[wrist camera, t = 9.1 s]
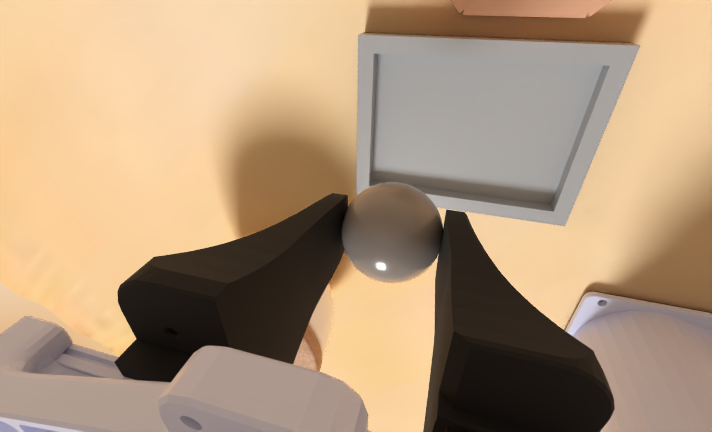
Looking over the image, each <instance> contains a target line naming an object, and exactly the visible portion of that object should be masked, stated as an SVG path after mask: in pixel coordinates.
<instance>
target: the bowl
mask: <svg viewBox="0 0 712 432" xmlns="http://www.w3.org/2000/svg"><path fill="white" fill-rule="evenodd" d="M450 1H451V2H452V3H453V5H454V6H455V8H456V9H457V10H458V12H459V13H461V12H462V11H463V10H464V12H463V15H482V16H522V17H562V18H586V16H592V15H593V14H594V13H596V12H597V11H598V10H600V9H601V8H602V7H604V6H605V5H606V4H608V3H609V2H610V1H612V0H450Z"/></svg>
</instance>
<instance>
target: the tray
mask: <svg viewBox="0 0 712 432" xmlns="http://www.w3.org/2000/svg"><path fill="white" fill-rule="evenodd" d="M639 47H640V46H639V45H636V44H632V43H626V42H599V41H573V40H547V39H521V38H495V37H469V36H442V35H416V34H390V33H362V34H359V35H358V101H357V176H356V195H358V194H360V193H361V192H362V191H363V190H365V189H367V188H369V187H371V186H373V185H376V184H379V183H384V182H400V183H405V184H408V185H411V186H413V187H415V188H417V189H419V190H420V191H422V192H423V193H424V194H426V195H427V196H428V197H429V198H430V199H431V201H432V202H433V203H434V205H435V206H436V207H438V208H445V209H452V210H459V211H465V212H472V213H479V214H486V215H493V216H499V217H506V218H513V219H520V220H526V221H533V222H540V223H547V224H554V225H560V226H565V225H566V222H567V220H568V217H569V215H570V213H571V210H572V208H573V205H574V203H575V201H576V198H577V196H578V193H579V191H580V189H581V186H582V184H583V181H584V179H585V177H586V174H587V172H588V169H589V167H590V165H591V162H592V160H593V157H594V155H595V153H596V150H597V148H598V146H599V143H600V141H601V138H602V136H603V134H604V131H605V129H606V126H607V124H608V122H609V119H610V117H611V114H612V112H613V110H614V107H615V105H616V102H617V100H618V98H619V95H620V93H621V90H622V88H623V86H624V83H625V81H626V78H627V76H628V74H629V71H630V69H631V66H632V64H633V62H634V59H635V57H636V54H637V52H638V50H639Z"/></svg>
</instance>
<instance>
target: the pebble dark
mask: <svg viewBox="0 0 712 432" xmlns="http://www.w3.org/2000/svg"><path fill="white" fill-rule="evenodd" d="M341 236H342V243H343V247H344V250H345V252H346V255H347V256H348V258H349V260H350V261H351V263H352V264H353V265H354V266H355V267H356V268H357V269H358V270H359V271H360V272H361V273H363V274H364V275H365V276H367V277H369V278H371V279H373V280H376V281H379V282H384V283H401V282H405V281H409V280H411V279H413V278H416V277H418V276H419V275H421V274H422V273H423V272H425V271H426V270H427V269H428V268H429V267H430V266H431V265H432V264H433V262H434V261H435V259H436V258H437V256H438V253H439V251H440V248H441V243H442V236H443V225H442V220H441V217H440V214H439V212H438V210H437V208H436V206H435V205H434V203H433V202H432V201H431V199H430V198H429V197H428V196H427V195H426V194H424V193H423V192H422V191H420V190H419V189H417V188H415V187H413V186H411V185H408V184H405V183H400V182H384V183H379V184H376V185H373V186H371V187H369V188H367V189H365V190H363V191H362V192H361V193H360V194H358V195H357V196H356V197H355V198H354V199H353V201H352V202H351V203H350V205H349V206H348V208H347V210H346V212H345V215H344V217H343V221H342V227H341Z"/></svg>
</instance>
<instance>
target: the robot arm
mask: <svg viewBox="0 0 712 432" xmlns="http://www.w3.org/2000/svg"><path fill="white" fill-rule="evenodd" d="M347 208H348V195H341V194H334V193H332V194H330V195H328V196H326V197H324V198H323V199H321V200H319V201H318V202H316V203H314V204H313V205H311V206H309V207H307V208H306V209H304V210H302V211H301V212H299V213H297V214H295V215H293V216H291V217H289V218H288V219H286V220H284V221H282V222H280V223H278V224H276V225H274V226H272V227H269V228H267V229H265V230H262V231H260V232H257V233H255V234H252V235H249V236H247V237H243V238H240V239H237V240H234V241H231V242H228V243H224V244H221V245H217V246H213V247H209V248H204V249H200V250H195V251H190V252H184V253H178V254H171V255H165V256H158V257H153V258H152V259H151V260H150V261H149V262H148V263H146V264H145V265H144V266H143V267H142V268H140V269H139V270H138V271H137V272H136V273H134V274H133V275H132V276H131V277H130V278H128V279H127V280H126V281H125V282H124V283H122V284H121V285H120V287H119V289H118V303H119V305H120V308H121V310H122V312H123V314H124V316H125V318H126V320H127V322H128V324H129V325H130V327H131V329H132V331H133V333H134V335H135V337H136V340H135V341H134V342H133V343H132V344H131V345H130V346H129V347H128V349H127V350H126V351H125V352H124V353H123V354H122V355H121V356H120V357H116V356H113V355H109V354H106V353H103V352H99V351H96V350H93V349H89V348H86V347H83V346H79V345H76V344H72V340H71V338H70V336H69V335H68V333H67V332H66V331H65V330H64V329H63V328H62V327H60V326H59V325H57V324H55V323H52V322H49V321H45V320H42V319H38V318H35V317H32V316H25V317H23V318H22V319H20V320H19V321H18V322H17V323H15V324H14V325H12V326H11V327H9V328H8V329H7V330H5V331H4V332H2V333H1V334H0V432H371V431H369V430H368V429H367V427H368V413H367V411H366V408H365V406H364V403H363V400H362V399H361V397H360V395H358V394H357V393H356V392H355V391H354V390H353V389H352V388H350V387H349V386H348V385H347V384H346V383H345V382H343V381H341V380H339V379H336V378H334V377H332V376H329V375H327V374H325V373H322V372H319V371H315V370H311V369H307V368H304V367H300V366H296V365H293V363H294V361H295V358H296V355H297V353H298V350H299V347H300V345H301V342H302V339H303V337H304V334H305V332H306V329H307V327H308V324H309V322H310V319H311V317H312V314H313V312H314V310H315V308H316V306H317V304H318V302H319V300H320V298H321V296H322V294H323V293H324V291H325V289H326V287H327V285H328V283H329V281H330V280H331V278H332V276H333V274H334V272H335V270H336V268H337V266H338V264H339V262H340V260H341V258H342V255H343V252H344V247H343V243H342V236H341V227H342V221H343V217H344V215H345V212H346V210H347ZM600 300H604V301H602V302H599V301H600ZM423 432H712V313H708V312H702V311H697V310H691V309H686V308H680V307H675V306H669V305H664V304H658V303H653V302H647V301H642V300H637V299H631V298H626V297H620V296H615V295H609V294H604V293H598V292H588V293H586V294H584V296H583V297H582V299H581V301H580V303H579V305H578V307H577V309H576V311H575V313H574V315H573V316H572V318H571V320H570V322H569V324H568V326H567V328H566V330H565V331H564V330H563V329H561V328H560V327H559V326H557V325H556V324H555V323H554V322H552V321H551V320H550V319H549V318H547V317H546V316H545V315H543V314H542V313H541V312H540V311H539V310H537V309H536V308H535V307H534V306H533V305H532V304H531V303H529V302H528V301H527V300H526V299H525V298H524V297H523V296H522V295H521V294H520V293H519V292H518V291H517V290H516V289H515V288H514V287H513V286H512V285H511V284H510V283H509V282H508V281H507V279H506V278H505V277H504V276H503V275H502V274H501V272H500V271H499V270H498V268H497V267H496V266H495V264H494V263H493V262H492V260H491V259H490V257H489V256H488V254H487V253H486V251H485V250H484V248H483V246H482V245H481V243H480V241H479V240H478V238H477V236H476V234H475V232H474V230H473V228H472V226H471V224H470V222H469V219H468V217H467V215H466V214H465V212H459V211H452V210H446V216H445V221H444V227H443V236H442V243H441V248H440V251H439V255H438V263H437V270H436V278H435V336H434V348H433V357H432V365H431V374H430V382H429V391H428V399H427V407H426V415H425V423H424V431H423Z"/></svg>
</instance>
